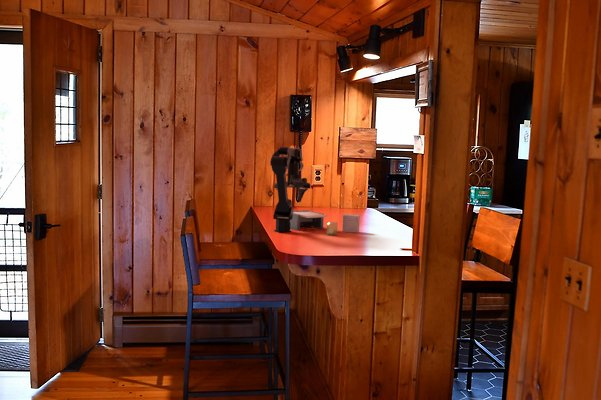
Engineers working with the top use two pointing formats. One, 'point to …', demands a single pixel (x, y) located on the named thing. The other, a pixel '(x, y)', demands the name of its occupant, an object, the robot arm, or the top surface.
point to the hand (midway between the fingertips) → (292, 202)
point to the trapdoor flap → (308, 216)
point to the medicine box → (350, 223)
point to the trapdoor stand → (296, 222)
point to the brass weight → (332, 228)
